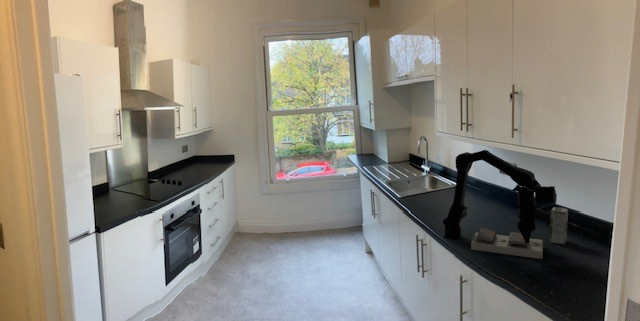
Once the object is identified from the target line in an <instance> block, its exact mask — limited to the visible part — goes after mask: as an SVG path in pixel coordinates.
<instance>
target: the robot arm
mask: <svg viewBox="0 0 640 321" xmlns="http://www.w3.org/2000/svg"><path fill="white" fill-rule="evenodd" d="M478 161H484V162H485V163H486V164H489V165H491V166H492V167H494V168H495V169H497V170H499V171H500V172H502V173H504V174H506V175H507V176H508V177H509V178H510V179H511V180H512V181H513V182H515V184H516V185H515V187H514V188H513V189H511V191H512V192H517V199H518V206H517V208H518V218H519V219H518V220H517V223H516V224H517V230H518V231H519V233H521V234H522V236H523V238H524V240H525V242H526V243H529V241H530V239H531V235H532V232H533V231H535V230H536V228H537V225H536V223H537V222H536V219H539V220H542V221H544V222H546V223H547V222H550V218H551V210H549V209H548V207H547V206H544V205H543V206H542V207H537V205H536V203H535V201H536V202H538V204H546V205H547V204H549V205H556V204H557V200H558V199H557V195H558V194H557V192H556V186H552V185H550V186H542V184H540V182H539V181H538V180H537V179H536V177H535V173H534V172H533V171H530V170H528V169H525V168H523V167H518V166H516V165H513V164H511V163H510V162H508V161H506V160H504V159H503V158H500V157H499V156H498V155H495V154H493V152H492V153H491V151H489V150H487V149H483V150H481V151H476V152H472V153H471V152H468V151H465V152H462V153H460V154H457V155H456V157H455V169H456V172H457V174H456V180H455V187H454V193H453V194H454V195H453V202H452V204H451V206H450V207H449V211H448V214H447V217H446V218H445V219H443V220H442V223H443V226H444V236H443V238H444V239H452V240H459V239H460V238H461V237H462V226H461V222H462V221H463V220H464V219H465V218H466V217H467V216H468V214H467V211H468V209H469V206H466V205H465V197H466V191H467V184H468V183H467V182H468V177H469V176H468V175H469V172H470V170H471V168H472V167H473V163H475V162H478Z"/></svg>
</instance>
